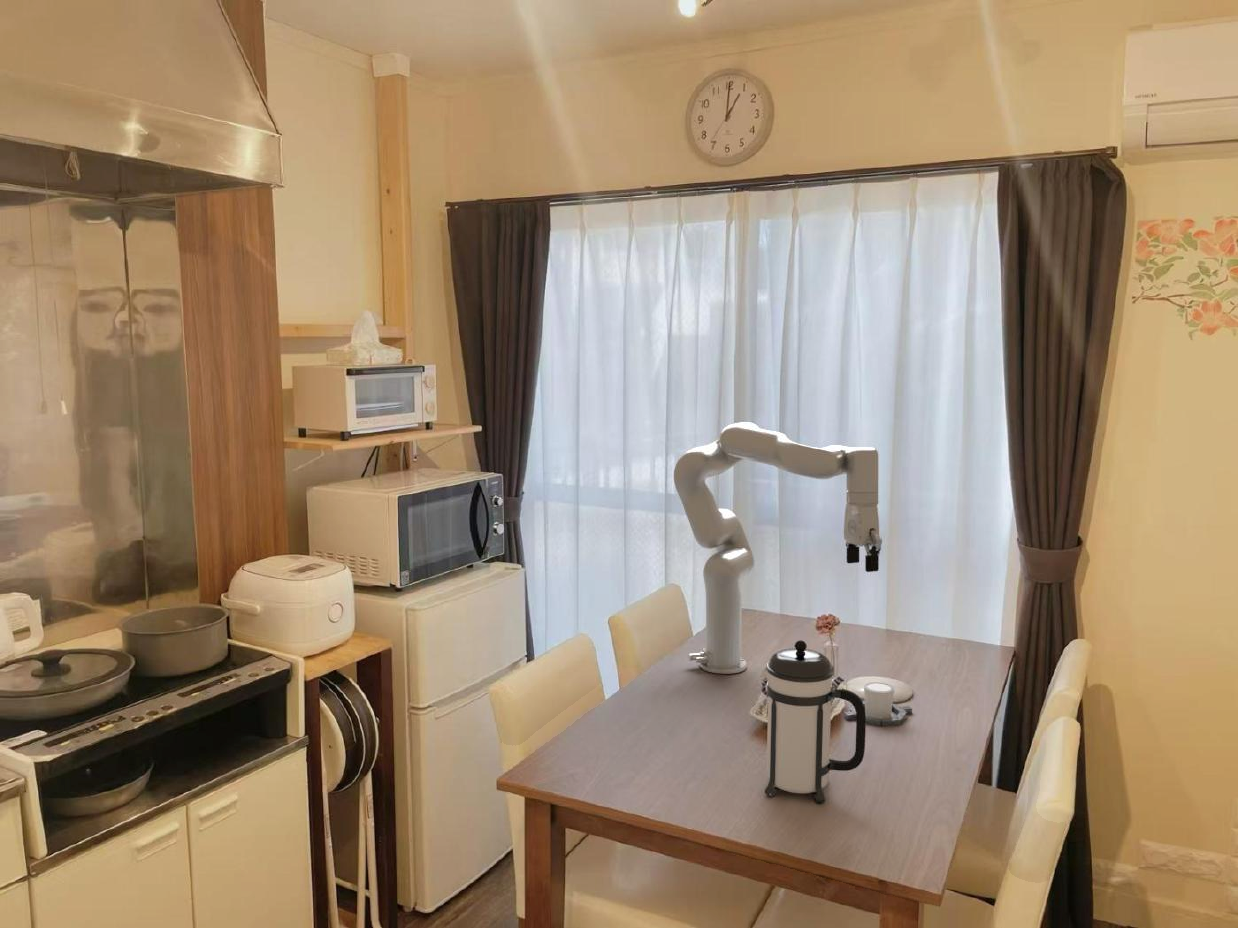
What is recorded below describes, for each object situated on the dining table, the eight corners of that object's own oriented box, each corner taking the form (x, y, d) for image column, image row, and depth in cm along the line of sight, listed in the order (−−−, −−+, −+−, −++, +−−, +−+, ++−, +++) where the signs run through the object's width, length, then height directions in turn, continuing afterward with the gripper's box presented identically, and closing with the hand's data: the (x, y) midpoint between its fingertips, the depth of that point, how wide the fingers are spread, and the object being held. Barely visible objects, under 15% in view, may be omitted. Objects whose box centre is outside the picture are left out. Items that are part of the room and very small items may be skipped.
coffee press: (789, 815, 173) (793, 659, 169) (744, 778, 187) (747, 634, 183) (865, 797, 180) (870, 647, 176) (816, 763, 194) (820, 623, 190)
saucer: (865, 705, 225) (865, 702, 224) (835, 682, 240) (835, 679, 240) (925, 699, 228) (925, 696, 228) (891, 676, 244) (891, 673, 244)
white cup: (898, 715, 219) (899, 686, 218) (884, 723, 214) (885, 694, 213) (871, 707, 224) (872, 679, 223) (857, 715, 219) (858, 687, 218)
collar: (858, 728, 211) (858, 723, 211) (833, 708, 223) (834, 704, 223) (923, 721, 215) (924, 716, 215) (896, 702, 227) (896, 697, 226)
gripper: (832, 494, 235) (832, 560, 237) (865, 504, 218) (865, 576, 220) (859, 492, 237) (859, 558, 239) (894, 502, 220) (894, 573, 222)
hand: (862, 566), depth 229 cm, fingers open, 9 cm apart
